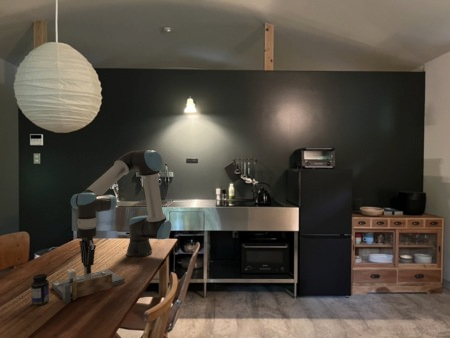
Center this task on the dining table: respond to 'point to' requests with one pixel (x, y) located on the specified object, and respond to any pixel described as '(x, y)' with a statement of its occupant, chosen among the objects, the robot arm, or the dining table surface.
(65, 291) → the hinge bracket
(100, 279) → the door
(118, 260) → the dining table surface
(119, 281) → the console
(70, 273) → the fader knob
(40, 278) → the pill bottle
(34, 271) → the dining table surface
